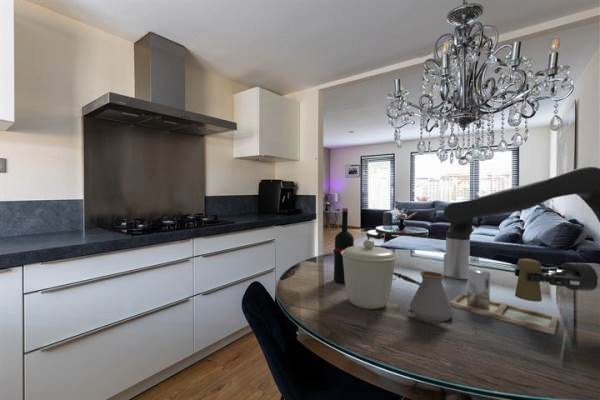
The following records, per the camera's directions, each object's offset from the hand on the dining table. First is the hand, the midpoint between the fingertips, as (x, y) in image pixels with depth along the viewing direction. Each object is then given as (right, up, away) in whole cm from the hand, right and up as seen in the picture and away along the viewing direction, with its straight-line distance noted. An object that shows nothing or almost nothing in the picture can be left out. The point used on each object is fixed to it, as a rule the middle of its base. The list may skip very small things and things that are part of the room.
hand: (521, 274), depth 80 cm
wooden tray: (-3, -14, +5) cm, 15 cm away
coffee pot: (-29, -14, 0) cm, 32 cm away
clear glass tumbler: (-7, -12, +9) cm, 17 cm away
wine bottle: (-45, -12, +34) cm, 58 cm away
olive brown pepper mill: (+2, -7, 0) cm, 7 cm away
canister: (-41, -13, +12) cm, 45 cm away
